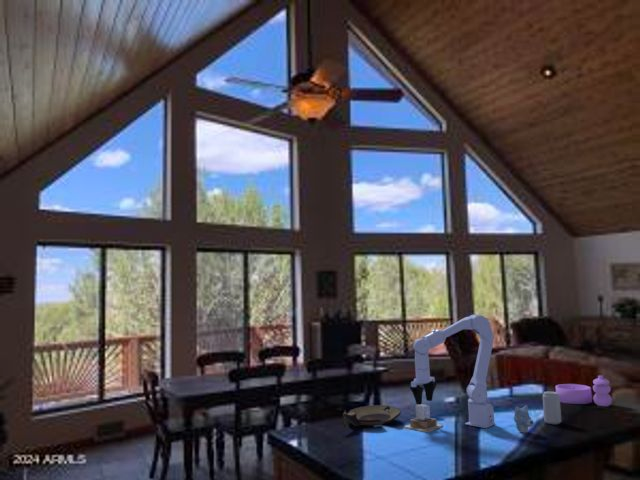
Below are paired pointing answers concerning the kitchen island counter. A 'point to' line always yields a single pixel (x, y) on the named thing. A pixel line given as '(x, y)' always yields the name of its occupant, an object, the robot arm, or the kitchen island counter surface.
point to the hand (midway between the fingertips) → (424, 402)
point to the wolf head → (522, 419)
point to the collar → (423, 425)
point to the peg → (422, 412)
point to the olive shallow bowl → (372, 415)
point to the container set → (585, 393)
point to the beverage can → (551, 407)
